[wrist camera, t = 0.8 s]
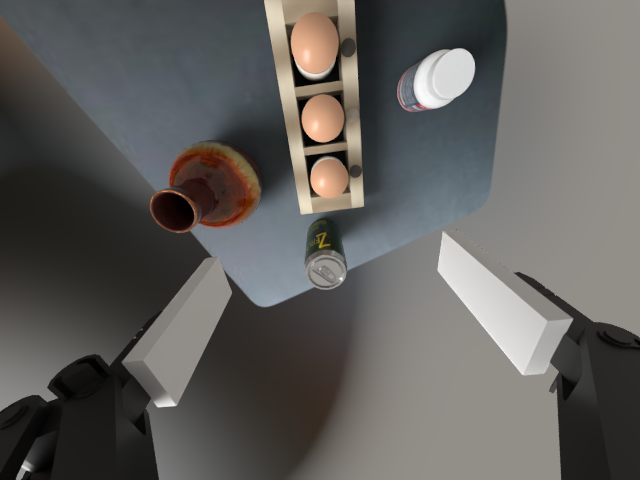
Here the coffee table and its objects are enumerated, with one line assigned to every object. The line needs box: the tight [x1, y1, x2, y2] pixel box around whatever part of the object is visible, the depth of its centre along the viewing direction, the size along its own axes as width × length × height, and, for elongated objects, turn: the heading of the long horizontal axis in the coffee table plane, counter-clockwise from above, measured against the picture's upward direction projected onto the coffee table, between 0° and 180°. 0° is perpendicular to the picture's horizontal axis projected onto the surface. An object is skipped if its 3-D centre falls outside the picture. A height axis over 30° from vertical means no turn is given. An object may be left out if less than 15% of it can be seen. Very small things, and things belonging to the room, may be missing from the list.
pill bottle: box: [397, 48, 475, 112], centre depth 26 cm, size 5×5×9 cm
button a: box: [291, 12, 339, 81], centre depth 24 cm, size 5×5×4 cm
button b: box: [302, 94, 344, 142], centre depth 27 cm, size 5×5×4 cm
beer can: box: [304, 220, 347, 289], centre depth 33 cm, size 5×5×12 cm
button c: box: [311, 156, 349, 198], centre depth 30 cm, size 5×5×4 cm
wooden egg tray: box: [264, 0, 364, 214], centre depth 29 cm, size 23×9×4 cm, turn 7°
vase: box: [150, 140, 263, 233], centre depth 28 cm, size 11×11×15 cm
